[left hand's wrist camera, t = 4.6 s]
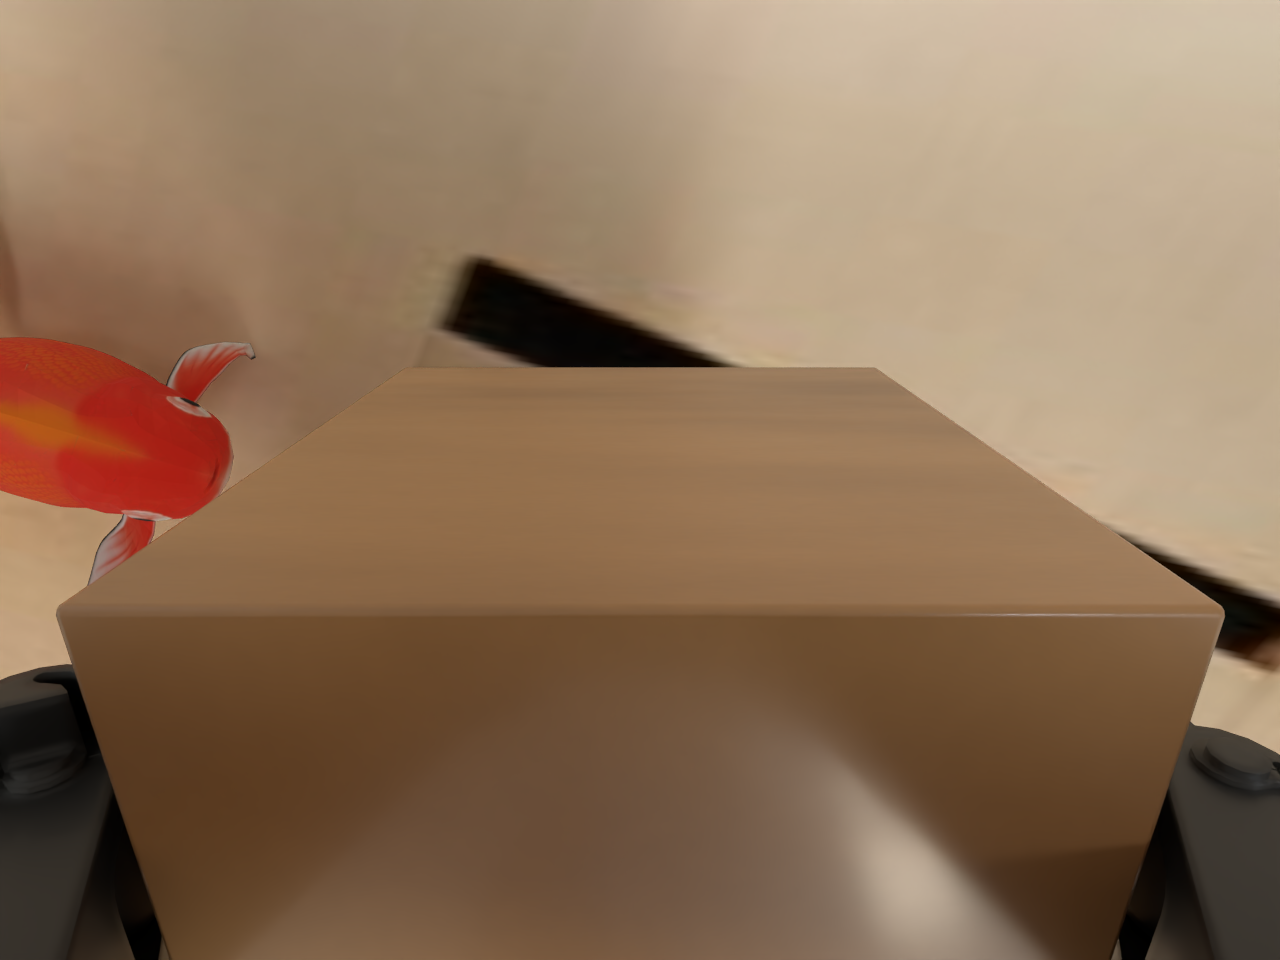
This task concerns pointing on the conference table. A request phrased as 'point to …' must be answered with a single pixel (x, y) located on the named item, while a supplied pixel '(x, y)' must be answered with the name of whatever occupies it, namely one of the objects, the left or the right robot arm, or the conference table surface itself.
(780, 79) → the conference table surface
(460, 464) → the box
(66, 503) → the fish
